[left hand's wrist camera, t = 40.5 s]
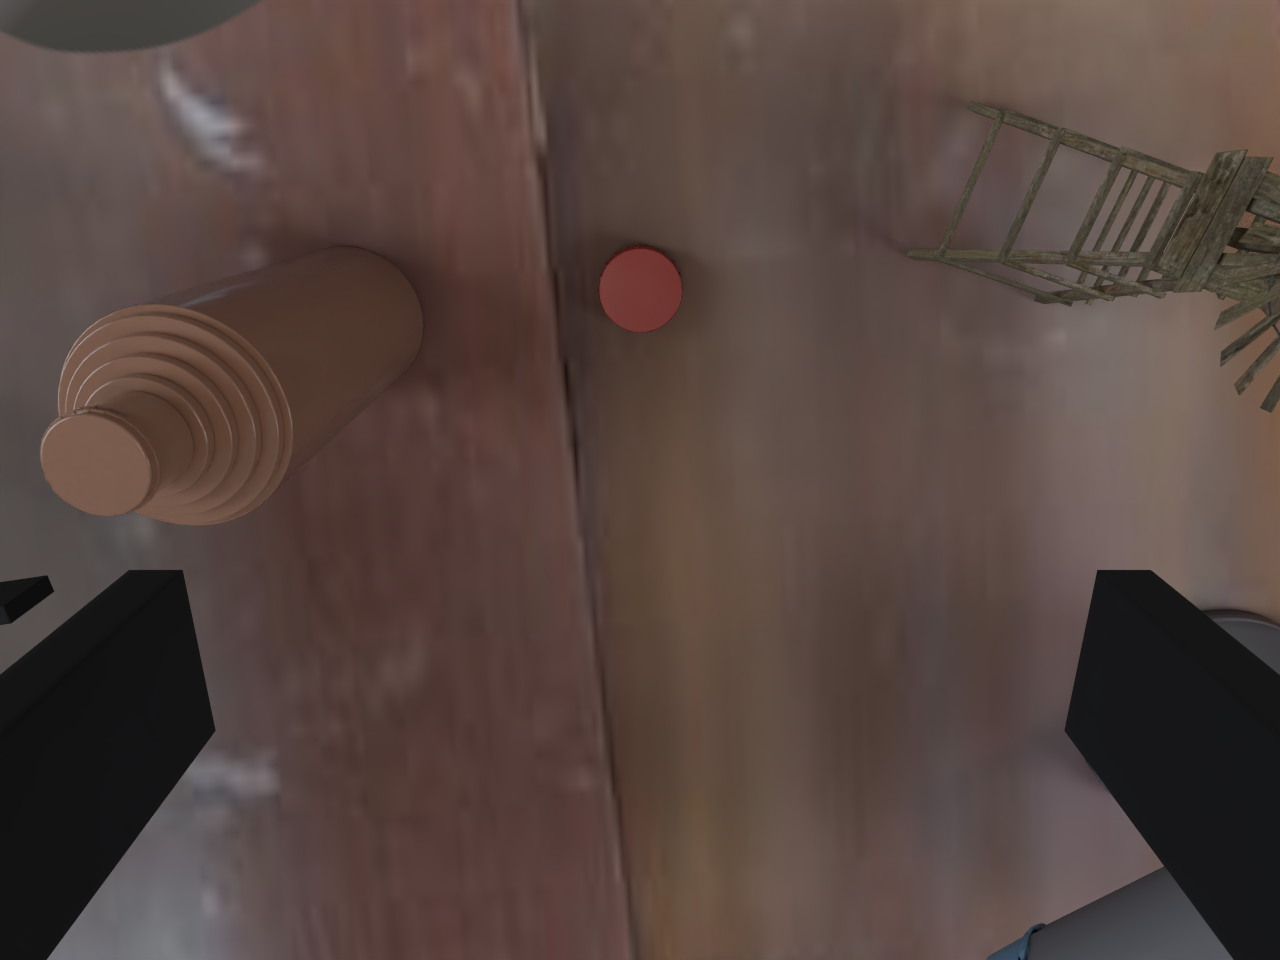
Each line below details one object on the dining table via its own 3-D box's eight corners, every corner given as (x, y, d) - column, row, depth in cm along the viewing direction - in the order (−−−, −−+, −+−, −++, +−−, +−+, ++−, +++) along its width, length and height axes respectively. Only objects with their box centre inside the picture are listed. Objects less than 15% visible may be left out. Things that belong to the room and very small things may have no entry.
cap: (583, 287, 48) (580, 292, 46) (639, 226, 47) (639, 229, 45) (641, 343, 49) (641, 350, 47) (698, 285, 48) (700, 289, 46)
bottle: (356, 215, 47) (82, 273, 24) (453, 335, 49) (288, 494, 26) (249, 304, 48) (-104, 438, 25) (347, 416, 50) (106, 632, 28)
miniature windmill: (974, 91, 44) (1557, -21, 16) (1122, 146, 45) (1918, 130, 17) (901, 265, 47) (1284, 426, 19) (1041, 313, 48) (1603, 534, 20)
